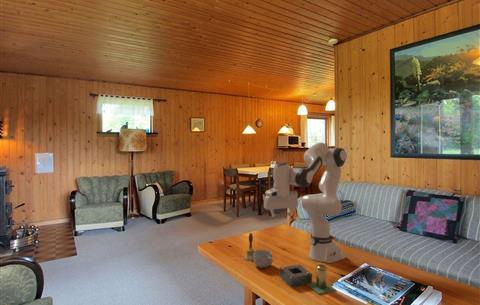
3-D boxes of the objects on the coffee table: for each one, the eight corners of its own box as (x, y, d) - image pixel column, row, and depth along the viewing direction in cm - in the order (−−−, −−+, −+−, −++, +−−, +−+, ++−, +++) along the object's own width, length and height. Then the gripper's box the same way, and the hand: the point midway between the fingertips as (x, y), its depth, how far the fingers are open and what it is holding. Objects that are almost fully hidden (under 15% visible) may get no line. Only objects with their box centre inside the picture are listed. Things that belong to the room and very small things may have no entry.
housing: (299, 273, 150) (299, 263, 150) (311, 283, 139) (311, 273, 139) (279, 276, 146) (279, 266, 146) (291, 287, 135) (291, 276, 135)
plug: (322, 283, 138) (322, 263, 138) (328, 288, 134) (328, 268, 133) (314, 284, 137) (314, 265, 136) (320, 289, 132) (320, 269, 132)
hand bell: (256, 255, 175) (256, 230, 175) (257, 260, 167) (257, 235, 166) (243, 255, 175) (243, 231, 174) (244, 261, 167) (244, 235, 166)
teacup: (250, 263, 163) (250, 250, 163) (267, 260, 167) (267, 247, 167) (260, 273, 150) (260, 259, 150) (278, 270, 154) (278, 256, 154)
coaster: (323, 281, 141) (323, 280, 141) (336, 291, 132) (336, 289, 132) (306, 284, 138) (306, 283, 138) (318, 294, 129) (318, 293, 129)
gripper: (294, 189, 159) (294, 213, 159) (262, 191, 152) (262, 216, 152) (300, 191, 153) (300, 215, 153) (267, 193, 146) (267, 219, 146)
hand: (281, 216), depth 153 cm, fingers open, 8 cm apart
